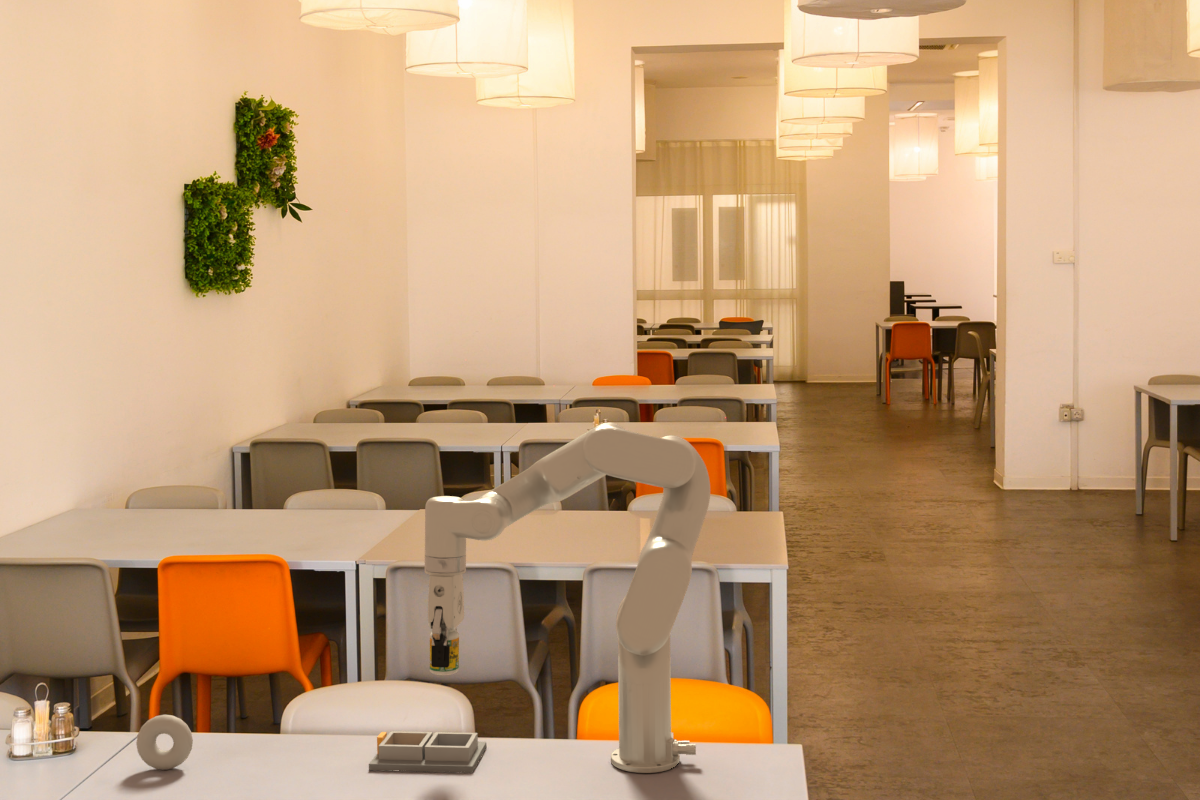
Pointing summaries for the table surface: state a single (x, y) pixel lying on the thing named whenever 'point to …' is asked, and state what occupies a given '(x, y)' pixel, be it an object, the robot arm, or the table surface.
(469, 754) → the compartment tray
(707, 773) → the table surface
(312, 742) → the table surface
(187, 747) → the donut
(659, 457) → the robot arm
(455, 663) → the supplement bottle
